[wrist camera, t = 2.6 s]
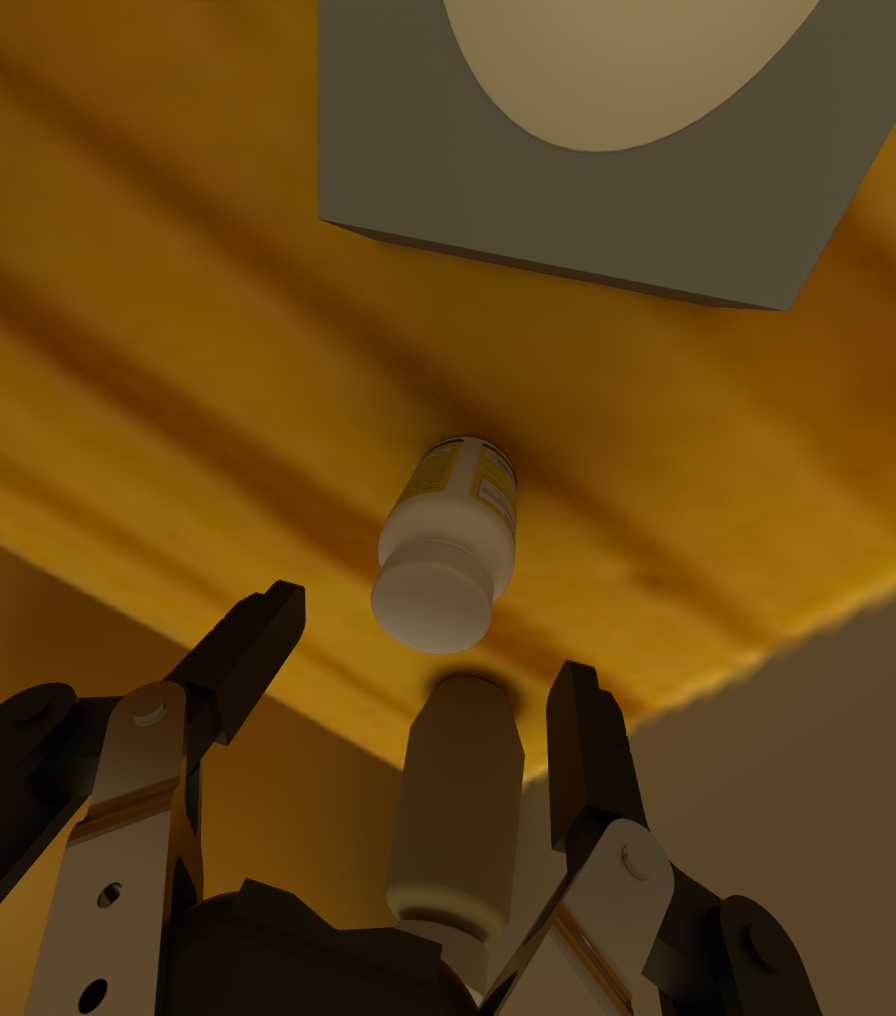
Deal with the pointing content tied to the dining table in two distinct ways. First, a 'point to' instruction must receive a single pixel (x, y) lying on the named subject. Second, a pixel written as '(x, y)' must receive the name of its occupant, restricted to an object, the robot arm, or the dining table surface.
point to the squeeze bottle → (458, 825)
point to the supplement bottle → (447, 548)
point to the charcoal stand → (607, 134)
